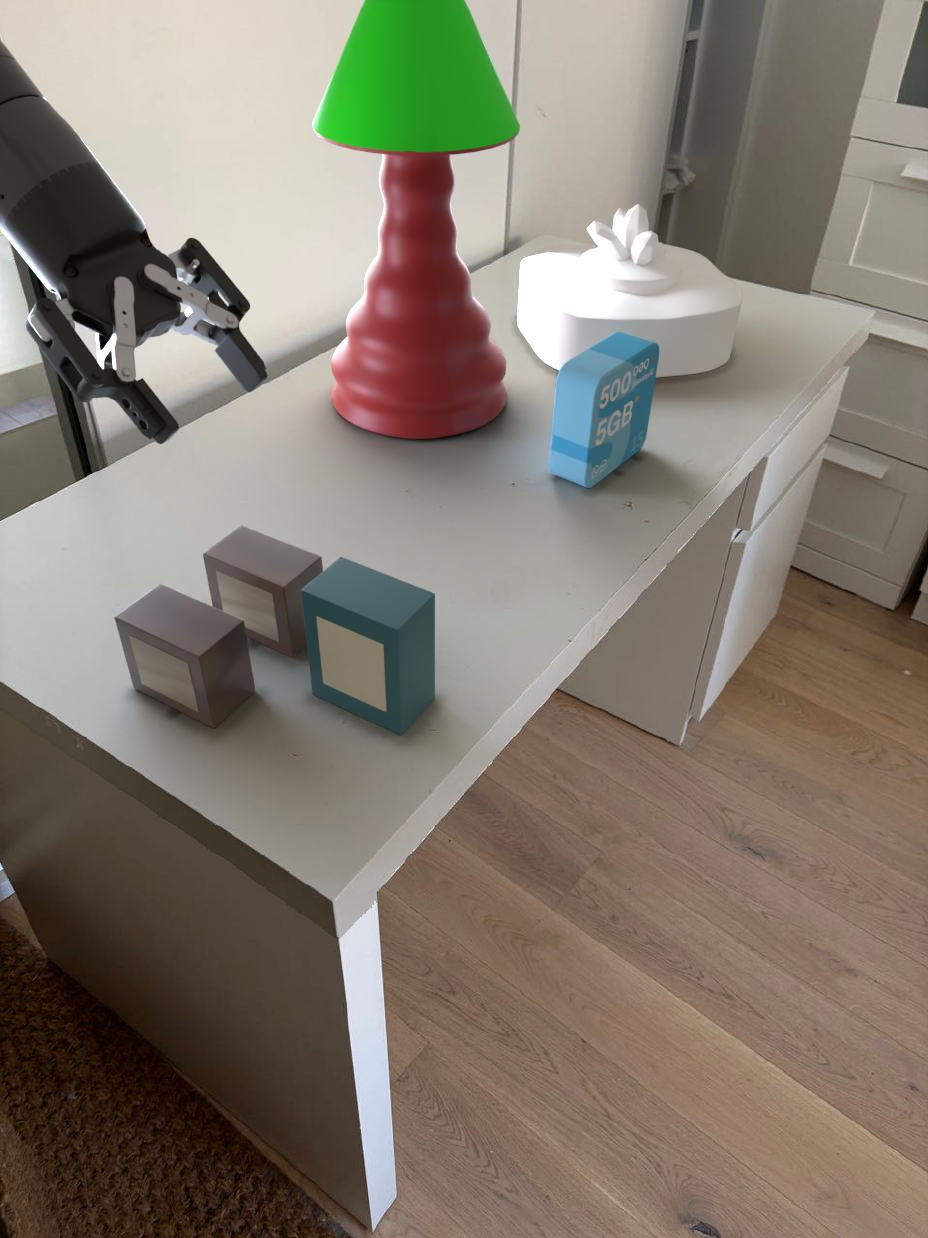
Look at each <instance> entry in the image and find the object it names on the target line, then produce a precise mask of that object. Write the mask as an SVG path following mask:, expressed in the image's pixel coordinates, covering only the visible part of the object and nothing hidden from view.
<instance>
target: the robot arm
mask: <svg viewBox="0 0 928 1238" xmlns="http://www.w3.org/2000/svg"><path fill="white" fill-rule="evenodd" d="M0 231H1V232H2V233H3V235H4V236H5V237H6V239H7V240H8V241H9V242H10V244H11V245H12V246H13V247H14V249H15V250H16V251H17V252H18V254H19V255H20V256H21V257H22V259H23V260H24V262H25V263H26V264H27V265H28V267H30V269H31V270H32V271H33V273H34V274H35V275H36V276H37V278H38V279H39V280H40V281H41V283H42V285H44V286H45V288H46V289H47V290H48V291H50V292H51V293H53V294H55V295H58V297H59V299H57V300H55V301H54V300H52V299H51V298H49V297H45V296H44V297H39V298H38V299H37V300H36V302H35V304H34V306H33V307H32V309H31V310H30V313H29V315H28V316H27V319H26V320H25V321H24V329H25V330H26V332H27V333H28V334H29V336H30V337H31V338H32V340H33V341H34V342H35V344H36V345H37V346H38V348H39V349H40V351H41V352H42V353H43V355H44V356H45V358H46V359H47V360H48V362H49V363H50V365H52V367H53V368H54V370H55V372H56V373H57V374H58V375H59V377H60V378H61V379H62V381H63V382H64V383H65V385H66V386H67V388H68V389H69V391H70V392H71V393H72V395H73V396H74V397H75V398H76V400H78V401H80V402H82V403H85V404H86V403H90V402H92V401H93V400H94V399H101V398H106V399H107V398H108V399H110V400H113V401H115V402H116V403H117V404H118V406H119V407H120V408H121V410H123V412H124V413H125V414H126V415H127V417H128V418H129V420H130V421H132V423H133V424H134V425H135V427H136V428H137V430H139V432H140V433H141V434H142V436H144V437H145V438H147V439H149V440H154V441H155V443H157V444H159V445H163V444H165V443H166V442H168V441H169V440H171V439H172V438H173V437H174V436H175V434H176V433H178V432H179V430H180V426H179V423H178V421H177V420H176V418H175V417H174V415H172V414H171V412H170V411H169V410H168V408H167V407H166V406H165V405H164V403H163V402H162V401H161V399H160V398H159V397H158V396H157V394H156V393H155V392H154V390H153V389H152V388H151V386H149V384H148V382H146V381H145V379H144V378H143V377H142V378H140V379H138V380H137V379H136V377H137V370H136V358H135V349H136V348H138V347H140V346H142V345H143V344H144V343H145V342H146V341H147V340H148V339H149V338H155V337H161V336H163V335H164V334H167V333H168V332H169V331H170V330H171V331H174V332H175V333H177V334H179V335H183V336H189V335H192V336H195V337H197V338H199V339H200V340H203V341H205V342H207V343H209V344H211V345H214V346H216V348H215V349H214V352H215V353H216V355H217V356H218V358H220V360H221V361H222V362H223V364H224V365H225V366H226V368H227V369H228V370H229V371H230V373H231V374H232V375H233V377H234V378H235V380H236V381H237V382H238V383H239V384H240V386H241V387H242V388H243V390H244V391H246V392H247V393H252V392H254V391H255V390H256V389H258V388H259V387H261V385H262V384H263V383H264V382H265V381H266V380H267V379H268V373H267V371H266V369H267V367H266V365H265V361H263V359H262V358H261V356H260V355H259V354H258V352H257V351H256V350H255V348H254V347H253V346H252V345H251V343H250V342H249V340H248V339H247V338H246V336H245V335H244V334H243V333H242V331H241V328H240V323H241V321H242V320H243V318H244V317H245V315H246V314H247V313H248V312H249V311H250V309H251V303H250V302H249V299H247V297H246V296H245V295H244V293H243V292H242V291H241V290H240V289H239V287H238V286H237V285H236V284H235V283H234V282H233V280H232V278H230V276H228V274H227V273H226V272H225V270H224V269H223V268H222V267H221V266H220V265H219V264H218V263H219V262H217V261H216V259H214V257H213V256H212V255H211V254H210V253H209V251H208V250H207V248H206V247H205V246H204V245H203V243H202V242H201V241H200V240H199V239H197V238H195V237H188V238H187V239H186V240H185V242H184V243H183V245H182V246H181V247H180V248H179V249H176V250H175V251H173V252H171V253H169V254H166V253H165V252H163V251H162V250H160V249H158V247H156V246H155V245H154V244H153V243H152V241H151V239H150V236H149V234H148V230H147V225H146V223H145V220H144V219H143V218H142V216H141V215H140V213H139V212H138V211H137V209H136V208H135V207H134V206H133V204H132V203H131V202H130V201H129V199H128V197H126V195H125V194H124V192H123V191H122V190H121V189H120V187H119V185H118V184H117V183H116V182H115V181H114V179H113V178H112V176H110V174H109V173H108V171H107V170H106V169H105V168H104V166H103V165H102V164H101V162H100V161H99V160H98V158H97V157H96V155H94V153H93V152H92V151H91V149H90V148H89V147H88V145H87V144H86V143H85V142H84V140H83V138H82V137H81V136H80V135H79V134H78V132H77V131H76V130H75V129H74V128H73V127H72V126H71V125H70V123H69V122H67V120H65V118H63V116H62V115H61V114H60V113H58V111H57V110H56V109H55V108H54V107H53V106H52V104H51V103H50V102H49V101H48V100H47V99H46V97H45V96H44V94H43V93H42V92H41V91H40V89H39V88H38V87H37V85H36V84H35V83H34V81H32V79H31V77H30V76H29V75H28V73H27V72H26V71H25V70H24V68H23V67H22V66H21V64H20V63H19V61H18V60H17V59H16V57H15V56H14V55H13V54H12V52H11V51H10V50H9V48H8V47H7V46H6V45H5V43H4V42H3V41H2V40H1V39H0ZM178 278H179V279H178ZM219 294H220V295H219ZM224 300H225V301H224ZM182 304H183V305H185V306H186V307H187V308H186V309H185V310H184V311H182ZM227 304H228V305H227ZM76 324H77V325H79V326H82V327H83V328H86V329H87V330H89V331H92V332H94V333H95V343H96V357H95V356H94V355H93V353H92V352H91V350H90V349H89V347H88V346H87V345H86V343H85V342H84V341H83V339H82V338H81V337H80V335H79V334H78V332H77V331H76Z"/></svg>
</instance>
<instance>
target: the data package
mask: <svg viewBox="0 0 928 1238" xmlns="http://www.w3.org/2000/svg"><path fill="white" fill-rule="evenodd" d="M658 359H659V346H658V344H657V343H655V342H652V341H648V340H645V339H642V338H639V337H635V336H632V335H629V334H626V333H622V332H615V333H613V334H612V335H610V336H608V337H607V338H605V339H604V340H602V341H600V342H599V343H597V344H595V345H594V346H592V347H590V348H589V349H587V350H585V351H584V352H582V353H580V354H579V355H577V356H575V357H574V358H572V359H571V360H569V361H567V362H566V363H565V364H564V365H563V366H562V367H561V369H560V371H559V370H558V373H557V376H556V379H555V389H554V401H553V411H552V425H551V436H550V447H549V448H550V449H549V457H548V458H549V459H548V468H549V469H548V470H549V472H550V474H551V475H554V476H556V477H560V478H562V479H564V480H567V481H569V482H572V483H575V484H577V485H579V486H582V487H584V488H586V489H587V488H588V489H590V488H593V487H594V486H595V485H597V484H598V483H599V482H601V481H602V480H603V479H605V478H606V477H607V476H608V475H610V474H611V473H613V471H615V470H616V469H618V468H619V467H620V466H622V465H623V464H624V463H625V462H627V460H629V459H630V458H632V457H633V456H634V455H635V454H637V453H639V451H640V450H641V449H642V448H643V446H644V444H645V441H646V439H647V436H648V435H647V434H648V429H649V423H650V415H651V409H652V404H653V397H654V390H655V384H656V379H657V378H656V372H657V366H658Z"/></svg>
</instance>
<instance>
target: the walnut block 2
mask: <svg viewBox="0 0 928 1238" xmlns="http://www.w3.org/2000/svg"><path fill="white" fill-rule="evenodd" d="M202 558H203V563H204V564H203V565H204V569H205V574H206V579H207V585H208V589H209V595H210V600H211V606H213V607H215V608H217V609H219V610H222V611H224V612H226V613H228V614H231V615H233V616H235V617H237V618H240V619H242V620H244V624H245V630H246V637H247V638H248V639H250V640H253V641H256V642H258V643H259V644H261V645H263V646H266V647H269V648H270V649H273V650H275V651H278V652H279V653H282V654H284V655H286V656H289V657H291V658H294V657H296V655H298V654H299V653H300V652H301V651H302V650H303V649H304V648H305V647H307V640H306V631H305V622H304V613H303V604H302V596H301V590H302V589H303V588H304V587H305V586H306V585H307V584H309V583H310V582H311V581H312V580H313V579H315V578H316V577H317V576H318V575H319V574H321V573H322V572H323V571H324V568H323V557H322V556H321V555H319V554H316V553H313V552H311V551H308V550H306V549H303V548H301V547H298V546H295V545H294V544H290V543H288V542H286V541H283V540H280V539H278V538H276V537H273V536H271V535H268V534H265V533H264V532H260V531H258V530H256V529H252V528H250V527H248V526H245V525H244V524H243V525H240V526H238V527H237V528H236V529H235V530H233V531H232V532H230V533H229V534H227V535H226V536H225V537H224V538H222V539H221V540H219V541H218V542H216V543H215V544H213V545H212V546H211V547H210V548H208V549H206V550H205V551H204V552H202Z"/></svg>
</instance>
